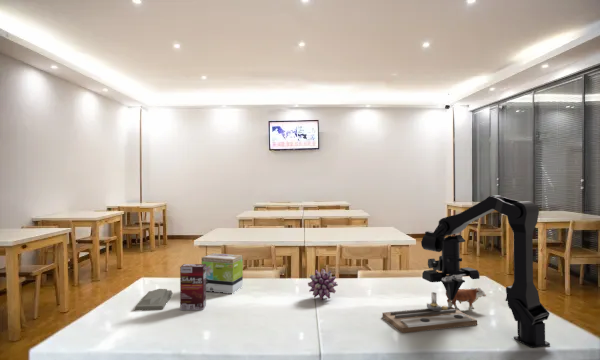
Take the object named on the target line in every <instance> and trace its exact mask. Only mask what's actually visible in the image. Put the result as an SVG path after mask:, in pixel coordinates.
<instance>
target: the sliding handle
mask: <svg viewBox="0 0 600 360" xmlns="http://www.w3.org/2000/svg"><path fill="white" fill-rule="evenodd" d="M437 299H438V298H437V292H433V291H432V292H431V299H430V300H431V302H430V303H426V308H429V309H430V310H432V311H442V309H441V307H442V305H441V306H440V305H439V304H438V303H437V301H438V300H437Z"/></svg>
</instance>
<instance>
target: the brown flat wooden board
mask: <svg viewBox="0 0 600 360" xmlns="http://www.w3.org/2000/svg"><path fill="white" fill-rule="evenodd" d="M441 309H442V311H432V310H430V309H429V308H427V307H426V308H415V309H409V310H407V309H405V310H396V311H387V312H382V318H383V319H384V320H386V321H387V322H388V323H389V324H391V325H392V326H394V327H395V328H396V329H397V330H398V331H400V332H401V333H402V334H406V333H407V334H408V333H414V332H415V333H417V332H423V331H424V332H425V331H432V330H433V331H434V330H442V329H444V330H445V329H449V328H450V329H453V328H463V327H470V326H477V325H478V319H476V318H474V317H472V316H471V315H468V314H466V313H464V312H462V311H460V310H457V309H455V307H454V306H452V307H451V306H448V305H447V306H446V305H441Z"/></svg>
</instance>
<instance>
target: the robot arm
mask: <svg viewBox="0 0 600 360" xmlns="http://www.w3.org/2000/svg"><path fill="white" fill-rule="evenodd" d="M495 211H496V212H498V213H499V214H501V215H504V216H506V217H507V222H508V225H509V226H510V228H511V230H512V234H513V283H512V285H509V286H506V287H505V293H506V298H505V300H504V301H505V302H507V307H508V308H509V310H511V312H512V315H513V319H514V321H515V322H517V335H515V336H513V339H514V340H516V341H518V342H519V343H522V344H524V345H526V346H527V347H529V348H539V347H546V346H551V343H550V342H548V341H546V323H545V322H544V321H546V320H548V319H549V317H550V312H549V311H548V309H547V308H546V307H545V306H544V305H543V304H542V303H541V300H540V295H539V291H538V289H537V288H536V285H535V284H534V263H533V262H534V255H533V253H534V252H533V251H534V249H533V245H534V244H533V233H534V230H535V228H536V226H537V224H538V220H539V213H540V210H539V207H538V205H536V204H535V203H534V202H532V201H530V200H524V201H521V200H516V199H512V198H508V197H505V196H502V195H500V194H499V195H497V194H495V195H490V196H487V198H485V199H483V200H481V201H480V202H478V203H476V204H474V205H471V207H468V208H467V209H465V210H464V211H461V212H459V213H456V214H453V215H448V216H445V217H443V218H441V219H439V221H438V225H437V227H436V228H435V229H434V231H429V230H428V231H427V230H426V231H425V232H424V233H425V235H423V237H422V238H421V241H420V243H421V247H422V249H423V250H425V251H430V252H438V253H440V252H441V255H439V256H438V260H436V259H435V258H428V259H427V266H428V269H429V270H426V269H425V270H423V272H422V273H421V274H422V275H421V276H422V277H421V278H422V279H423V280H425V281H427V282H429V283H439V282H441V283H442V285H443V287H444V289H445V293H446V292H447V294H448V297H449V299H450V300H453V299H454V297H455V295H456V293H457V291H458V290H459V289H461V287H462V284H463V283H465V282H466V280H465V279H463V277H469V278H470V279H472V280H479V279H480V278H481V277H480V271H478V269H475V268H473V267H469V266H468V267H461V266H460V265H461V263H460V262H463V258H462V257H461V255H460V251H461V250H460V243H466V239H465V237H462V235H461V234H460V233H461V232H462V231H464V230H465V229H467V227H468V226H469V224H471V223H472V222H475V221H477V220H479V219H481V218H483V217H485V216H486V215H488V214H490V213H493V212H495ZM452 235H455V236H452Z"/></svg>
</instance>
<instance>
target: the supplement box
mask: <svg viewBox="0 0 600 360" xmlns="http://www.w3.org/2000/svg"><path fill="white" fill-rule="evenodd" d="M179 268H180V269H179V273H180V275H179V281H180V282H179V283H180V284H179V285H180V286H179V287H180V288H179V289H180V290H179V293H180V294H179V295H180V297H179V299H180V300H179V301H180V306H179V309H180V311H196V310H197V311H203V310H205V308H206V307H207V291H206V264H202V263H199V264H198V263H187V264H186V263H184V264H182V265H181V266H180V267H179Z"/></svg>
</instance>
